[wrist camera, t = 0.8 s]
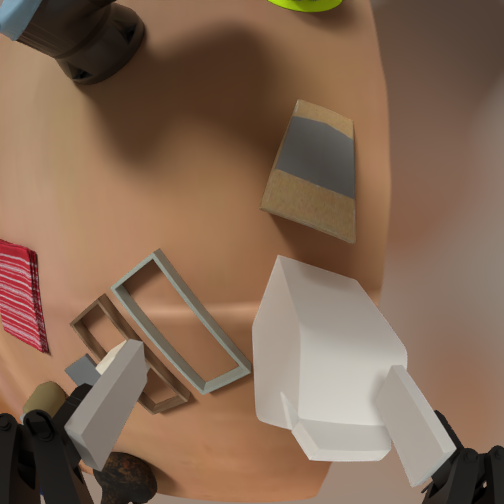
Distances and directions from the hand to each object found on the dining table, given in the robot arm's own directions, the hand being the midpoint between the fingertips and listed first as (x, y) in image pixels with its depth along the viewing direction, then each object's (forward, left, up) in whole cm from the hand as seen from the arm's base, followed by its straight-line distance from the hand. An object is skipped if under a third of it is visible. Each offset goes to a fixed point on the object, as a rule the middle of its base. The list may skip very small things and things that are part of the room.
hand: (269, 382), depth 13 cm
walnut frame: (+2, -29, -25) cm, 38 cm away
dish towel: (-22, -47, -26) cm, 58 cm away
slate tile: (+2, -43, -25) cm, 50 cm away
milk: (+9, +1, -25) cm, 27 cm away
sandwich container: (-8, +12, -26) cm, 29 cm away
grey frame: (+2, -16, -25) cm, 30 cm away
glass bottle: (+28, -61, -25) cm, 72 cm away
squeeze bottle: (0, -59, -25) cm, 64 cm away
